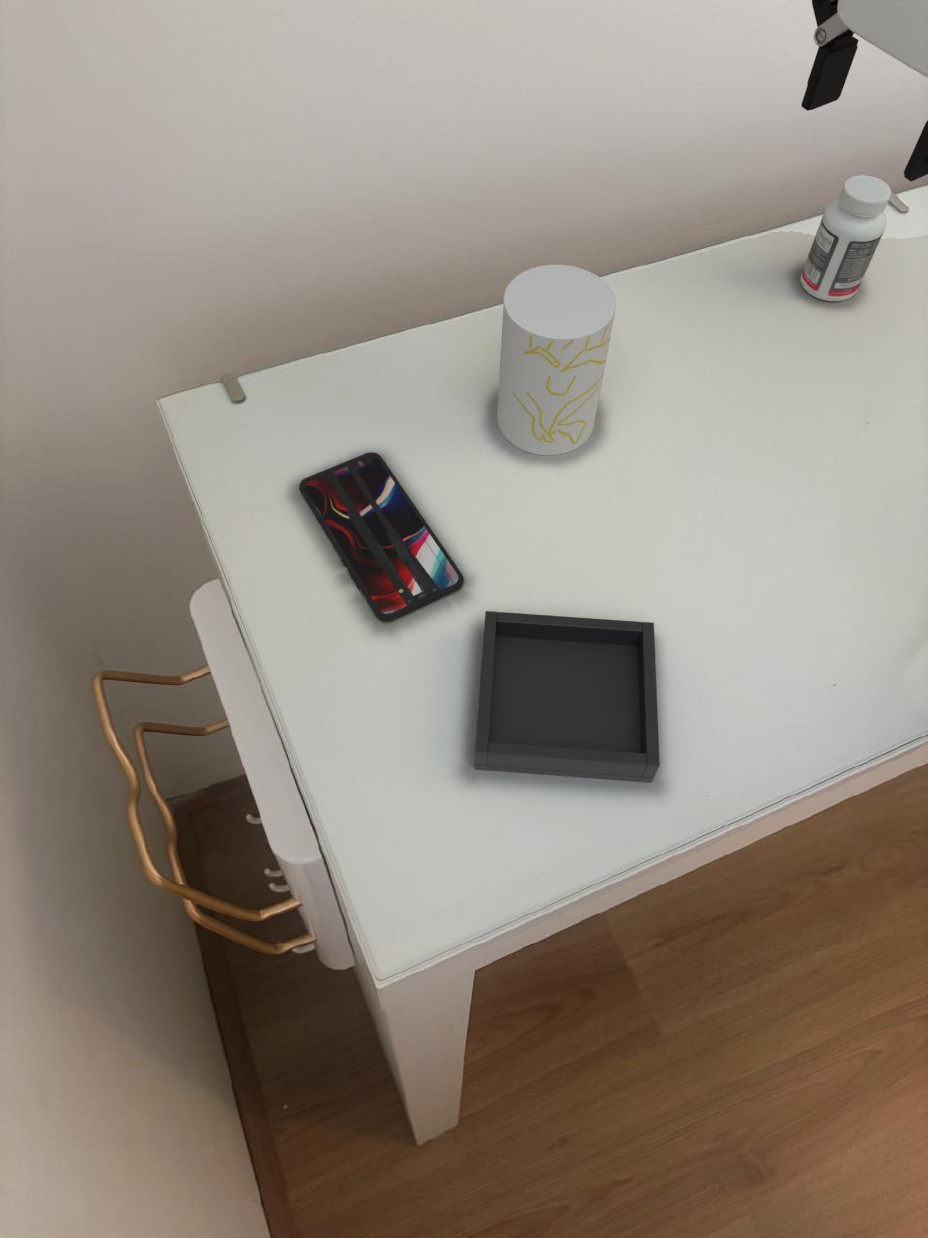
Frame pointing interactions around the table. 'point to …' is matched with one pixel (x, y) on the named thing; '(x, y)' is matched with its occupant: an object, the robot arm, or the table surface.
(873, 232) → the pill bottle
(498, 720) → the tray
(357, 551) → the smartphone
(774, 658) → the table surface
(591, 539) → the table surface
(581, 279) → the cup
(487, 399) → the table surface
